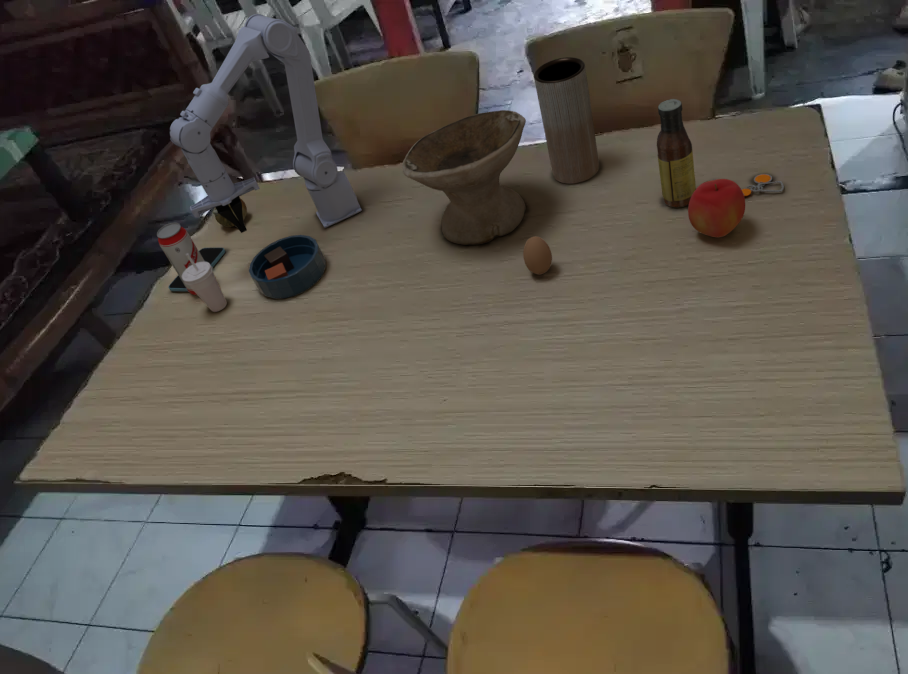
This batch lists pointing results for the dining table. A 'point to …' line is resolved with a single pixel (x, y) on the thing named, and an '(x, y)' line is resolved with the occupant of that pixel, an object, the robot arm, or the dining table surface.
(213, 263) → the smartphone
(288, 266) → the walnut block
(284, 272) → the terracotta block
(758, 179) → the key chain
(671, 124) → the sauce bottle
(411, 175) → the bowl
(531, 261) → the egg
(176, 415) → the dining table surface
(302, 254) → the teal bowl
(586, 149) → the planter
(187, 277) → the smoothie
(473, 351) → the dining table surface
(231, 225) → the onion
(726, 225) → the apple
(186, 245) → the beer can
